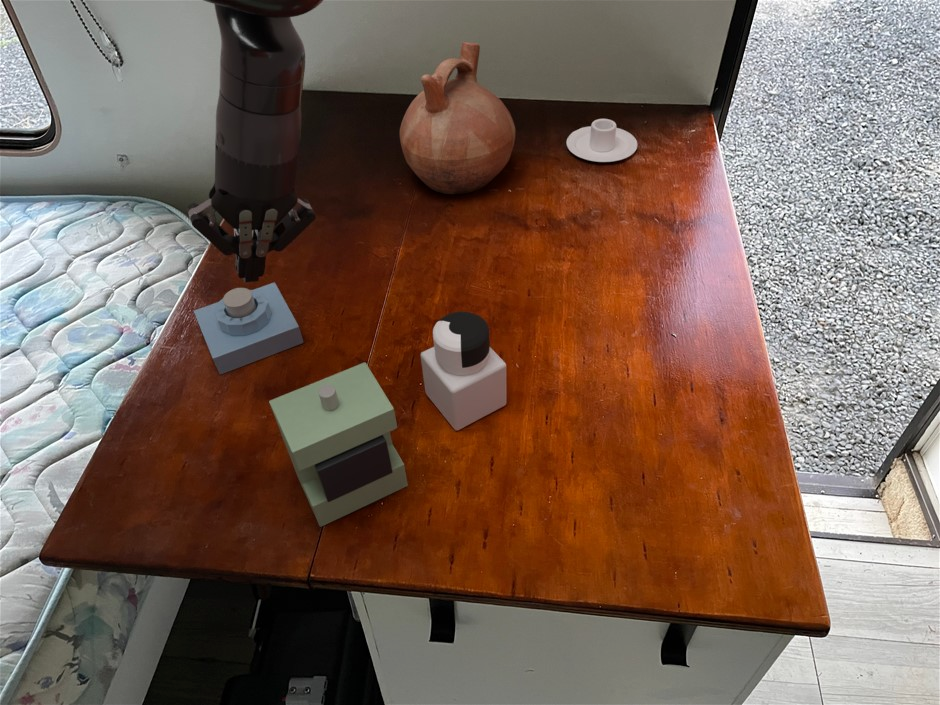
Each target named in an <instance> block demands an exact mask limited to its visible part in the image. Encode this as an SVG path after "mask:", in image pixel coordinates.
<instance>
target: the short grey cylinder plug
mask: <svg viewBox="0 0 940 705" xmlns="http://www.w3.org/2000/svg"><path fill="white" fill-rule="evenodd" d="M250 290H251V289H248V288H247V287H236V288H233V289H231V290H229V291H227V292H226V293H225V294H224V296H223V297H222V299H223V303H224V305H225V308H226V310H227V313H228V315H229V316H230V317H232V318H243V317H246V316H249V315H251V314H252V313H253V312H254V311H255V309H256V303H255V300H254V298H253V295H252V292H251V291H250Z"/></svg>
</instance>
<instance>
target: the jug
mask: <svg viewBox="0 0 940 705" xmlns="http://www.w3.org/2000/svg"><path fill="white" fill-rule="evenodd" d="M460 48H461V49H460V55H459V58H453V57H451V58H447V59H445V60H443V61H441V63H440V64H438V66H437V67H436V69H435V71H434V73H433V74H431V75H430V74H428V73H426V74H424V75H422V76H421V77H420V81H421V84H422V88H423V90H422V91H421V92H419V93H418V94H417V95H416V97H415V98H414V99H413V100H412V101H411V103H410V104H409V106H408V108H406V111H405V114H404V115H403V118H402V121H401V123H400V127H399V141H400V142H399V143H400V146H401V150H402V153H403V156H404V159H405V162H406V163H407V166H409V168H410V169H411V171H412V172H413V173H414V174H415V175H416V176H417V177H418V179H420V180H421V182H422V183H424V185H426V186H427V187H428V188H429V189H430V190H433V191H435V192H437V193H441V194H444V195H463V194H470V193H472V192H475V191H478V190H481V189H482V188H485V186H487V185H488V184H490V183H491V181H493V179H494V178H495V177H497V176H498V175H499V174H500V172H501V171H502V170H504V168H505V167H506V165H507V164H508V163H509V161H510V158H511V156H512V152H513V150H514V149H513V148H514V146H515V142H516V126H515V122H514V119H513V117H512V115H511V112H510V111H509V110H508V108H507V106H506V105H505V104H504V102H503V101H502V100H501V99H500V98H499V97H498V96H497V95H496V94H495V93H493V92H492V91H491V90H489V89H488V88H487V87H485V86H483V85H482V84H480V83H479V82H478V78H477V74H478V65H479V58H480V52H481V50H480V48H481V46H480V44H479V43H473V42H471V43H470V42H467V41H462V44H461V47H460ZM455 69H456V72H457V73H456V75H455V77H454V78H453V79H450V78H451V76H452V74H453V72H454V71H455Z"/></svg>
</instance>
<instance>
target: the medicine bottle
mask: <svg viewBox="0 0 940 705" xmlns="http://www.w3.org/2000/svg"><path fill="white" fill-rule="evenodd" d="M432 339H433V346H432V347H430V348H428V349H426V350H423V351H421V352H420V363H421V370H422V378H423V384H424V391H425V395H426V396H427V397H428V398H429V400H430V401H431V403H433V405H434V406H435V407H436V408H437V410H438V411H439V413H440V414H441V415H442V416H443V417H444V419H445V420H446V421H447V423H449V426H451V427H452V429H453V430H454V431H457V432H458V431H460V430H462V429H464V428H465V427H467V426H469V425H472V424H473V423H474V422H477V421H479V420H480V419H482V418H484V417H487V416H488V415H491V414H492V413H494V412H496V411H497V410H500V409H501V408H503V407H505V406H506V405H507V403H508V402H507V400H508V399H507V364H506V361H504V360H503V359H502V358H501V357H500V356H499V354H498V353H496V352H495V351H494V349H493V348H492V347H491V346H490V345H491V344H490V342H491V341H490V327H489V324H488V322H487V321H486V320H485V319H484V318H483V317H481V316H480V315H478V314H476V313H474V312H470V311H453V312H451V313H450V312H449V313H447V314H446V315H444V316H442V317H441V318H440V319H439V320H438V321H437V322H436V323H435V324H434V326H433V329H432Z"/></svg>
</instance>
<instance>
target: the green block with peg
mask: <svg viewBox="0 0 940 705" xmlns="http://www.w3.org/2000/svg"><path fill="white" fill-rule="evenodd" d="M268 403H269V406H270V408H271V411H272V413H273V416H274V419H275V421H276V424H277V426H278V429H279V432H280V434H281V438H282V440H283V442H284V445H285V447H286V451H287V453H288V456H289V458H290V460H291V463H292V466H293V469H294V471H295V474H296V477H297V479H298V481H299V484H300V486H301V488H302V490H303V492H304V494H305V497H306V499H307V501H308V504H309V506H310V508H311V510H312V513H313V515H314V517H315V519H316V522H317V524H318V526H319V527H320V528H321V527H324V526H326V525H328V524H331V523H332V522H335V521H336V520H338V519H341V518H343V517H345V516H347V515H349V514H351V513H354V512H355V511H358V510H360V509H362V508H364V507H367V506H369V505H370V504H373V503H374V502H377V501H379V500H381V499H383V498H385V497H387V496H389V495H392V494H394V493H396V492H398V491H400V490H402V489H405V488H407V487H408V486H409V483H408V477H407V473H406V466H405V463H404V461H403V460H402V458H401V456H400V454H399V452H398V451H397V450H396V448H395V446H394V444H393V440H392V435H391V432H392V431H394V430H396V429H398V424H397V419H396V418H397V417H396V412H395V408H394V406H393V404H392V403H391V402H390V400H389V398H388V397H387V395H386V393H385V392H384V390H383V389H382V386H381V384H379V382H378V380H377V379H376V377H375V375H374V373H373V372H372V370H371V369H370V367H369V366H368V364H367V363H366V362H361V363H359V364H357V365H354V366H352V367H349V368H347V369H345V370H342V371H339V372H337V373H334V374H332V375H329V376H327V377H325V378H322V379H320V380H317V381H315V382H312V383H310V384H307V385H305V386H303V387H300V388H297V389H295V390H292V391H290V392H288V393H284V394H283V395H280V396H278V397H275V398H273V399H270V400H269V401H268ZM381 435H383V436H384V438H385V439H386V442H387V447H388V452H389V456H390V461H391V466H392V471H393V473H391V474H389V475H387V476H385V477H382V478H380V479H378V480H376V481H374V482H372V483H369V484H367V485H365V486H363V487H361V488H359V489H356V490H354V491H352V492H350V493H348V494H346V495H343V496H341V497H339V498H337V499H335V500H333V501H330V502H328V501H327V499H326V497H325V495H324V492H323V489H322V486H321V483H320V480H319V477H318V474H317V471H316V469H315V466H314V465H315V464H317V463H320V462H322V461H324V460H326V459H329V458H331V457H333V456H335V455H338V454H340V453H342V452H345V451H347V450H349V449H351V448H354V447H356V446H358V445H360V444H363V443H365V442H367V441H369V440H372V439H374V438H376V437H379V436H381Z"/></svg>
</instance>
